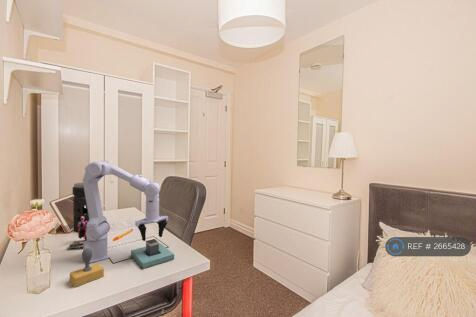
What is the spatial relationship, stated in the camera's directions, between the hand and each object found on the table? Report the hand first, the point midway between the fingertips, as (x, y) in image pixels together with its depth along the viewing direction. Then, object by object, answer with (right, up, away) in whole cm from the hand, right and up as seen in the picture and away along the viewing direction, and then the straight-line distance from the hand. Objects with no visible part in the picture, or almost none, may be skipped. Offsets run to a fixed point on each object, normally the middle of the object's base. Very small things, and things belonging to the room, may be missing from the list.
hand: (152, 238), depth 109 cm
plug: (0, -9, 0) cm, 9 cm away
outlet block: (0, -9, +1) cm, 9 cm away
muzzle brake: (-54, -6, +33) cm, 64 cm away
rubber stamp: (-18, -10, -18) cm, 28 cm away
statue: (-41, -8, +12) cm, 43 cm away
